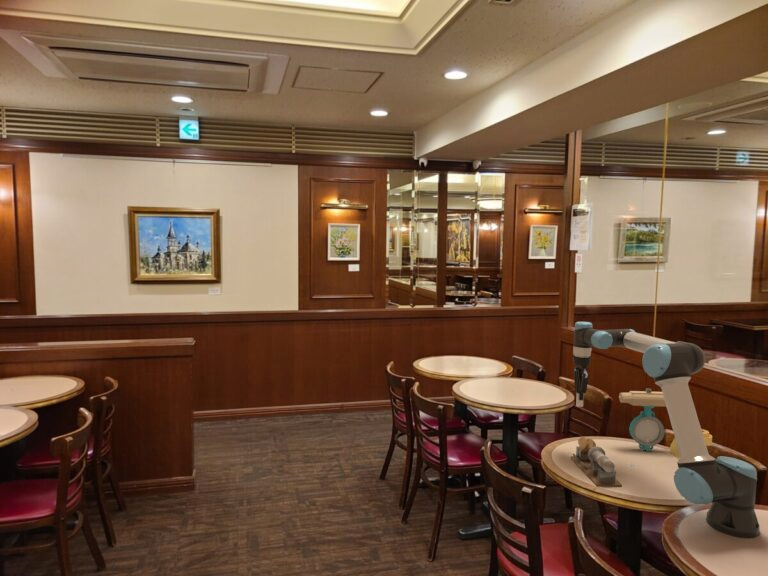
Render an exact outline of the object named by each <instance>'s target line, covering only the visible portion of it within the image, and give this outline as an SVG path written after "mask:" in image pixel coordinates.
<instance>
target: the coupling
mask: <svg viewBox="0 0 768 576" xmlns="http://www.w3.org/2000/svg"><path fill="white" fill-rule="evenodd" d="M577 444H578V446H576V448H575V455H576V456H577V457H578V458H579V459H580V460H581V461H590V460H589V458H588V452H589V450H590V449H591V448H592V447H595V446H597V445H596V442H595V441H594V440H593V439H592V438H590V437H589V438H588V437H585V436H583V437H579V438H578V440H577Z"/></svg>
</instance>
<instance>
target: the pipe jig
mask: <svg viewBox="0 0 768 576" xmlns="http://www.w3.org/2000/svg"><path fill="white" fill-rule="evenodd" d="M588 458H589V460H590V461H581V460H580V459H579V458H578V457H577V456H576V453H572V456H570V459H571V460H572V461H573V463H575V465H577V467H578V468H579V469H580V470H581V471H582V473H584V475H585V476H587V478H588V479H589V480H590V481H591V482H592V483H593V484H594V485H595V486H596V487H598V488H599V487H604V488H605V487H608V488H609V487H611V488H613V487H614V488H622V487H623V485H622V483H621V482H620V481H619V480H618V479H617V478H616V477H617V475H616V474H617V471H616V470H615V467H616V465H615V464H614V462H613V461H612V460H611V459H609V458H608V457H607V455H606V451H605V450H604V449H603V448H602V447H600V446H597V445H596V446H595V447H592V448H591V449H590V450H589V452H588Z"/></svg>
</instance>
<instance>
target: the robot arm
mask: <svg viewBox="0 0 768 576" xmlns="http://www.w3.org/2000/svg"><path fill="white" fill-rule="evenodd" d="M592 347H594V348H596V349H600V350H607V349H609V348H616V347H622V348H624V349H629V350H632V351H635V352H639V353H642V354H643V355H642V359H641V360H642V368H643V370H644V372H645V374H647V375H648V376H649V377H651V378H653V380H654V384H655V385H657V386H658V387H660V389H661V392H663V396H664V400H665V403H666V410H667V413H668V416H669V420H670V425H671V427H672V432H673V435H674V438H675V439H676V443H677V446H678V450H679V453H680V459H678V460H677V462H676V465H677V467H678V468H677V469H676V470H675V471H674V475H673V481H674V486H675V488H676V490H677V492H678V493H679V495H680V496H681V497H682V498H684V499H685V500H686V501H687V502H689V503H692V504H694V505H709V504H710V507H709V509H708V511H706V512H707V513H706V519H705V520H707V521H706V523H707V522H708V523H707V524H708V525H709V526H710V527H712V528H713V529H715V530H716V531H718V532H721V533H723V534H726V535H728V536H732V537H736V538H742V539H752V538H757V537H759V535H760V523H759V521H758V516H757V514H756V511H755V505H756V491H757V481H758V477H757V476H758V474H757V473H758V470H757V468H756V467H755V466H754V465H752V464H751V463H750V462H749V463H748V462H747V461H744V460H741V459H738V458H734V457H730V456H724V455H723V456H721V455H720V456H717V457H716V458H715V457H714V456H712V455H710V453H709V451H708V446H706V443H705V440H704V437H703V433H702V430H701V429H702V426H701V424H700V421H699V418H698V414H697V410H696V407H695V403H694V400H693V398H692V393H691V390H690V387H689V382H690V380H691V379H692V376H691V375H695V374H696V373H698V372H700V371H701V370H703V368H704V367H705V364H706V354H705V352H704V351H703V349H702V348H701V347H700V346H699V345H697V344H695V343H692V342H685V341H682V340H681V341H680V340H679V341H676V342H675V341H671V340H668V339H667V340H666V339H663V338H659V337H656V336H655V337H654V336H651V335H648V334H644V333H640V332H636V331H635V329H631V328H629V329H628V328H623V329H622V328H620V329H595V328H593V323H592V322H590V321H576V322H575V324H574V330H573V350H572V353H573V354H572V355H573V356H572V364H573V365H575V367H573V368H572V369H573V370H572V371H573V379H574V382H573V383H574V384H573V385H574V389H575V391H576V395H575V396H576V399H575V400H576V402H575V406H576V407H577V408H583V407H584V396H585V395H584V394H587V390H588V384H589V383H588V382H589V378H590V373H588V368H587V367H588V366H591V360H592V359H591V358H592V357H591V354H592V351H593V349H592Z"/></svg>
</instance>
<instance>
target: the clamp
mask: <svg viewBox="0 0 768 576" xmlns="http://www.w3.org/2000/svg"><path fill="white" fill-rule="evenodd" d="M701 430H702V433H703V437H704V440H705V443H706V447H710V446H712V445H713V435H712V434H710V432H709V430H707V429H703V428H701ZM669 449H670V450H669V453H670V452H671V453H670V454H672V455H673V456H674V455H675V456H676V457H675V456H674V457H675V458H677V459H678V460H679V459H680V453H679V450H678V446H677V443H676V439H675V437H674V438H673V440H672V442H671V443H670V448H669Z"/></svg>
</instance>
